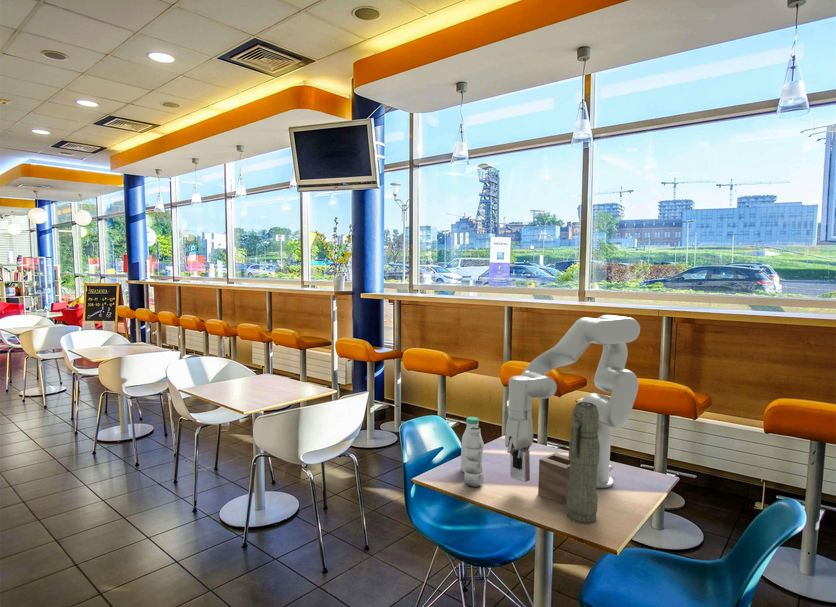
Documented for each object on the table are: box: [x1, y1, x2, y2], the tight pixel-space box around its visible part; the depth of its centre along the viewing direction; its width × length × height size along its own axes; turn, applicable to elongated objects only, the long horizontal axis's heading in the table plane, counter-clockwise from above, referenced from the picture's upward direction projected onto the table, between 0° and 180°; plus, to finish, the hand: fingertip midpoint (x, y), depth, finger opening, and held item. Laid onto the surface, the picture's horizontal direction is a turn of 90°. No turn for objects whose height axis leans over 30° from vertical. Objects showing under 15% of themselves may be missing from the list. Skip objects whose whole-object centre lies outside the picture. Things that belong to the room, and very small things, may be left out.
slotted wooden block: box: [537, 452, 570, 505], centre depth 170 cm, size 10×10×12 cm
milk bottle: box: [460, 416, 482, 474], centre depth 190 cm, size 8×8×20 cm
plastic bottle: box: [463, 426, 485, 487], centre depth 177 cm, size 6×7×20 cm
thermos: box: [566, 401, 600, 525], centre depth 155 cm, size 9×12×35 cm
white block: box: [509, 448, 531, 483], centre depth 171 cm, size 2×6×10 cm, turn 43°
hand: (519, 466), depth 171 cm, fingers closed on white block, 2 cm apart
